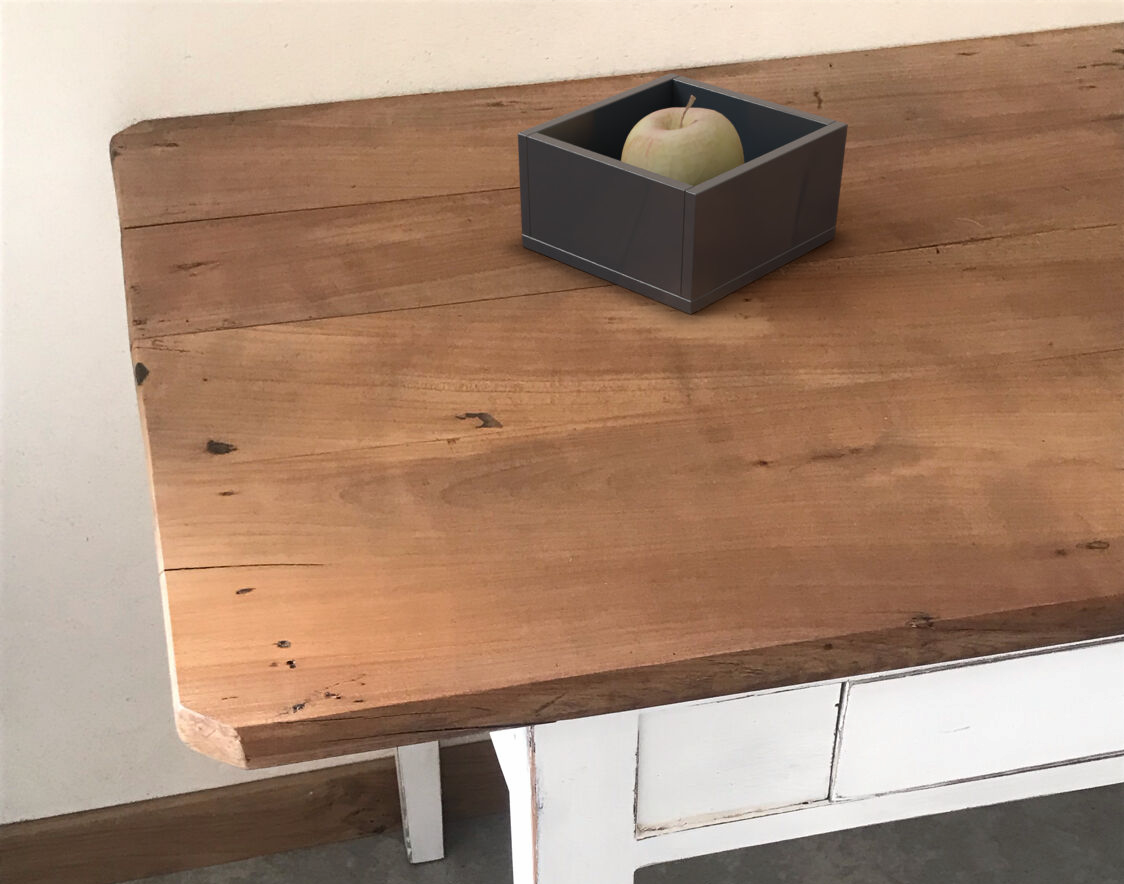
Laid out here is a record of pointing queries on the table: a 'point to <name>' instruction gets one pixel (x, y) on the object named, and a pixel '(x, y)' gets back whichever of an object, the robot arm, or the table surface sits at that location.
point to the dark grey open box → (680, 195)
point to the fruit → (684, 144)
